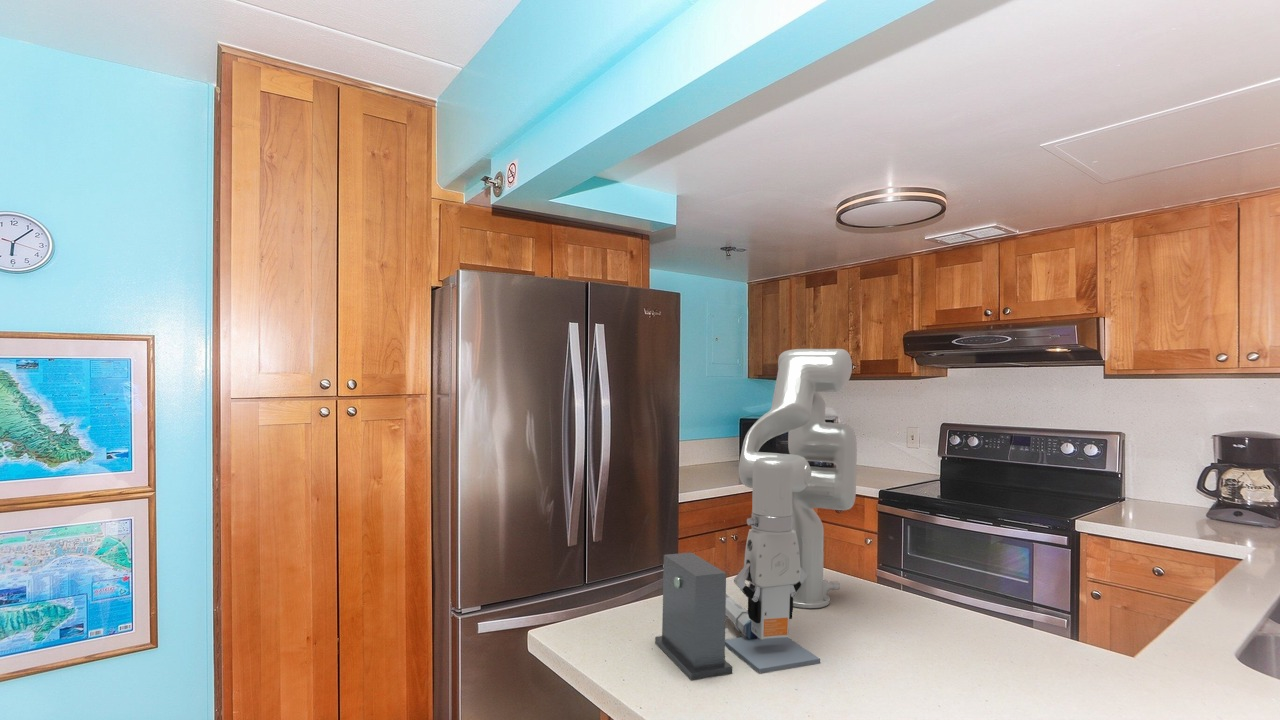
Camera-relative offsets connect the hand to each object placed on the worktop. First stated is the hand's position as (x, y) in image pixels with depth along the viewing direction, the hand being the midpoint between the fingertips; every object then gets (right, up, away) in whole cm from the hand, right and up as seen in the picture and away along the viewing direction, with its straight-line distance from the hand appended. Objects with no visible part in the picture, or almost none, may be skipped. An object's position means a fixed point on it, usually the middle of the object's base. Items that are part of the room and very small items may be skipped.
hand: (770, 617), depth 116 cm
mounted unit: (-15, -6, -3) cm, 17 cm away
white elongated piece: (-6, -7, +16) cm, 18 cm away
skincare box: (0, -3, 0) cm, 3 cm away
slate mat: (0, -7, 0) cm, 7 cm away
